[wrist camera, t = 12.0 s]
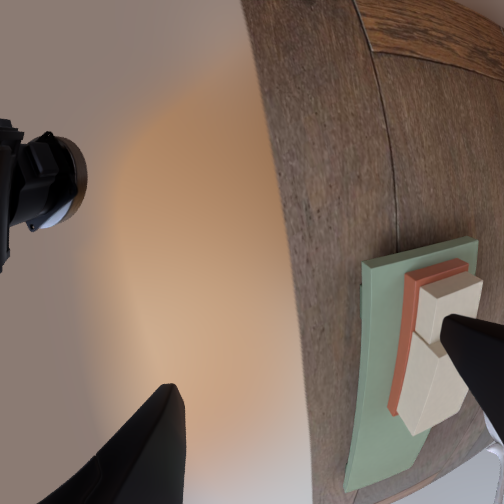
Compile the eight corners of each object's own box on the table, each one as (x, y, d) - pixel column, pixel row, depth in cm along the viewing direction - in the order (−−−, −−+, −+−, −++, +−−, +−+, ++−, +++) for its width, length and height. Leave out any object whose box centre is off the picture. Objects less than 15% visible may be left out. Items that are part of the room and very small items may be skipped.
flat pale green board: (404, 454, 31) (411, 467, 28) (340, 478, 30) (345, 493, 27) (456, 231, 20) (478, 240, 17) (352, 254, 20) (370, 268, 17)
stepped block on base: (431, 387, 22) (456, 418, 17) (386, 407, 21) (408, 443, 17) (457, 257, 17) (501, 280, 13) (404, 272, 17) (448, 303, 13)
